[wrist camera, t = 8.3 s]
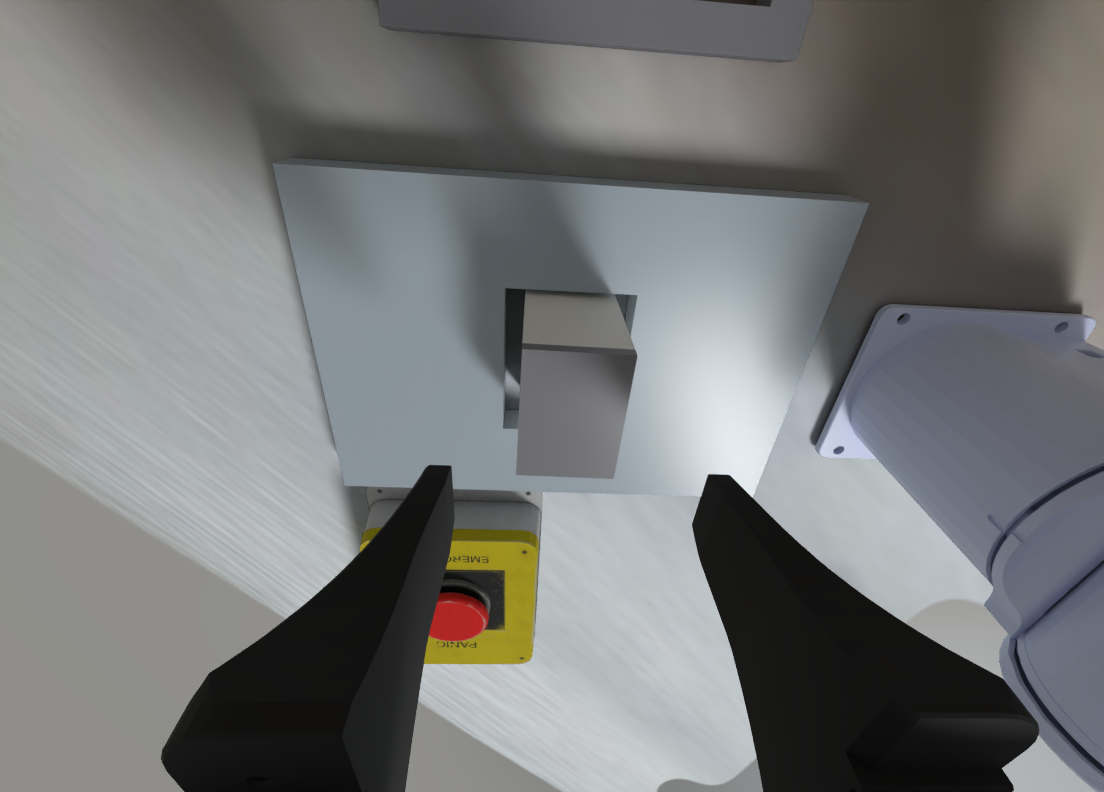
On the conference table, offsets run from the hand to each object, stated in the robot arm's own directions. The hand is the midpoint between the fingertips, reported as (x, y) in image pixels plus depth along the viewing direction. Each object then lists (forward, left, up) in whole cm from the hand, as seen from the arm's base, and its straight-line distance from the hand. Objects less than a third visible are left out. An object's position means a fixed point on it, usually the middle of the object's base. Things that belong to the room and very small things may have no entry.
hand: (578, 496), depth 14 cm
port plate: (0, 0, -9) cm, 9 cm away
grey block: (0, -1, -9) cm, 9 cm away
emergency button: (+5, +15, -10) cm, 19 cm away
